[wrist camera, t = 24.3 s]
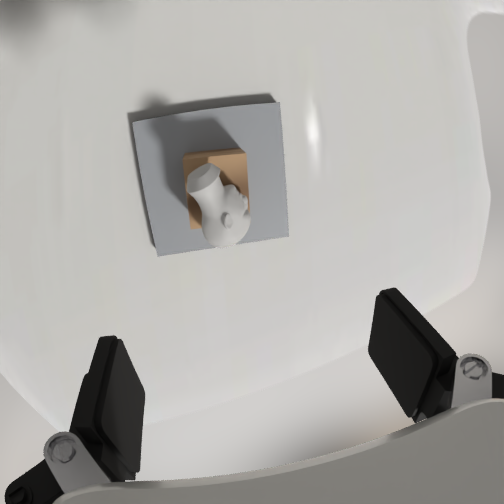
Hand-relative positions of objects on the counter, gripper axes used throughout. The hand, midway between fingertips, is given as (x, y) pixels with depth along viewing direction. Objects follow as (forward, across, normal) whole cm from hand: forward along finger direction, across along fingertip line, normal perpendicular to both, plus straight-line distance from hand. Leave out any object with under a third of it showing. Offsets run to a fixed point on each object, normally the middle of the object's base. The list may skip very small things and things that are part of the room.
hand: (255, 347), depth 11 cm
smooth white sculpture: (+22, 0, +1) cm, 22 cm away
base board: (+28, 0, 0) cm, 28 cm away
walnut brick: (+27, 0, 0) cm, 27 cm away
